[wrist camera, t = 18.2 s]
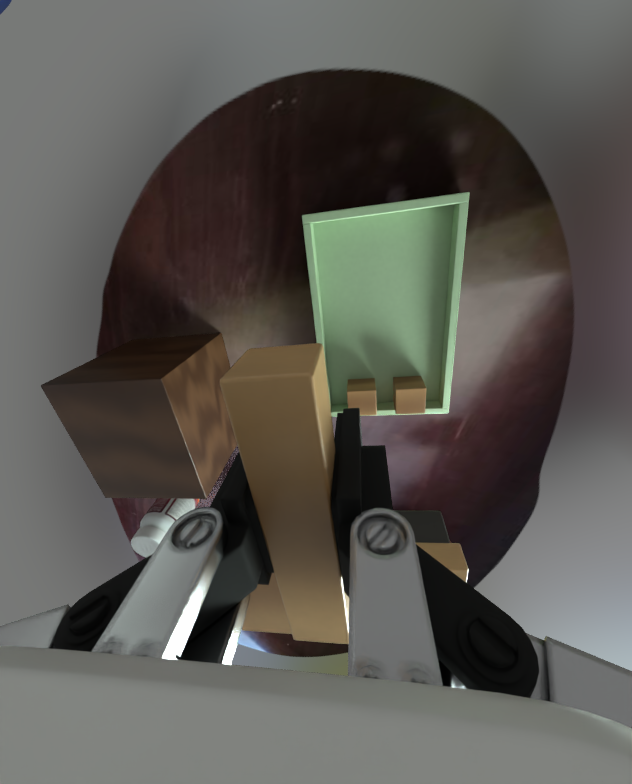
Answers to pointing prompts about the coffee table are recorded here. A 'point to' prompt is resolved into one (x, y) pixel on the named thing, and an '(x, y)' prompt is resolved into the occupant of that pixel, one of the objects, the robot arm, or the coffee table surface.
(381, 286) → the tray
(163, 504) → the pill bottle
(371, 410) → the cork block
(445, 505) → the coffee table surface
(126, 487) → the stand
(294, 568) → the brush
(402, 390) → the brown cube
